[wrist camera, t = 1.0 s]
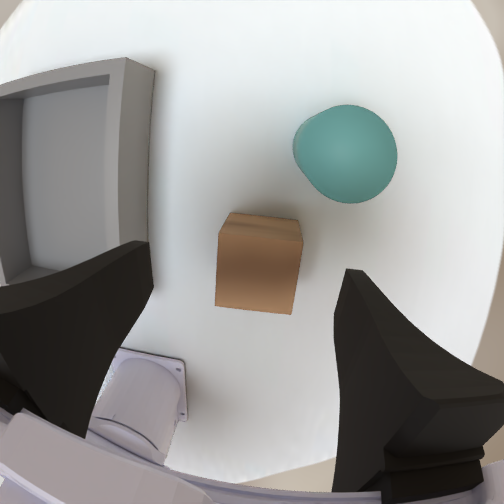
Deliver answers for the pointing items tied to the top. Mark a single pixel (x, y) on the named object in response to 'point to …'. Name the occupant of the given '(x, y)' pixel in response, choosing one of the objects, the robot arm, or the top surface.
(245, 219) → the walnut cube
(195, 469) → the top surface
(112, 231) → the tote
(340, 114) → the teal cylinder
